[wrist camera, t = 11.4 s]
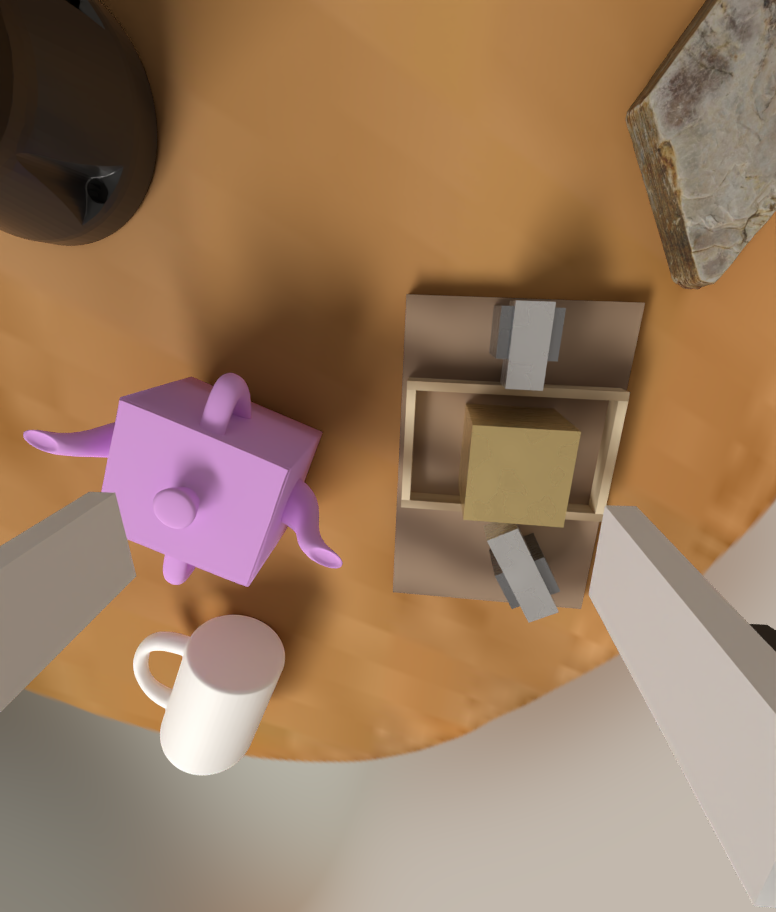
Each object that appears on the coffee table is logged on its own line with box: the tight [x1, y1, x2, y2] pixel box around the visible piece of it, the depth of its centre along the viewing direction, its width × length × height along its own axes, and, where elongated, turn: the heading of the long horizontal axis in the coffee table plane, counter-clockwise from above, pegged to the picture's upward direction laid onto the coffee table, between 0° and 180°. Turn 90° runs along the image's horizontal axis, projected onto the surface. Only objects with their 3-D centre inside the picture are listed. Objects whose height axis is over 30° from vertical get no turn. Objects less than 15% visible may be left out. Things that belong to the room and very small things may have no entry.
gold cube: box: [458, 404, 581, 528], centre depth 29 cm, size 6×6×6 cm
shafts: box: [484, 300, 566, 622], centre depth 30 cm, size 22×6×4 cm, turn 178°
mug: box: [133, 615, 285, 775], centre depth 38 cm, size 12×10×8 cm
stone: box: [626, 0, 776, 289], centre depth 25 cm, size 15×8×3 cm, turn 26°
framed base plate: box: [393, 294, 645, 609], centre depth 32 cm, size 23×15×3 cm, turn 178°
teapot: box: [23, 373, 342, 587], centre depth 30 cm, size 15×13×11 cm
